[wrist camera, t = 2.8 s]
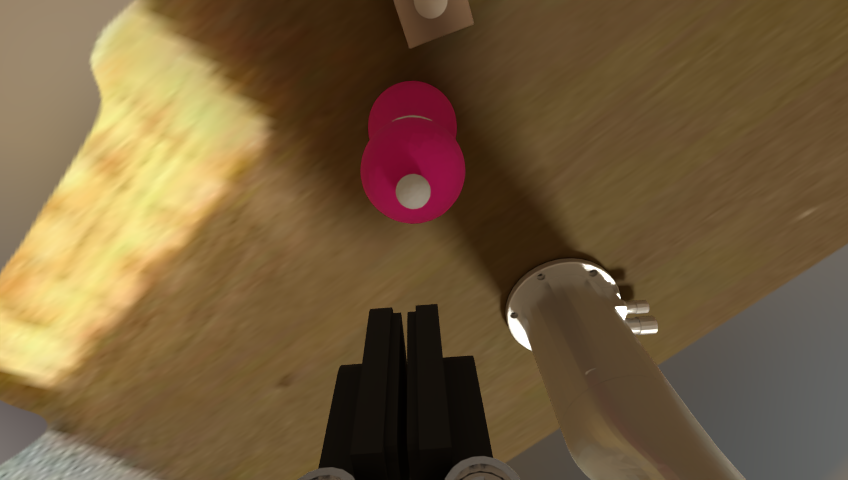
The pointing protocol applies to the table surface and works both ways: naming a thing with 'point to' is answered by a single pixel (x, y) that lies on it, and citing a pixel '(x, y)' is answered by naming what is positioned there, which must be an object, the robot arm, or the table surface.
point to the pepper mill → (412, 154)
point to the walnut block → (432, 18)
